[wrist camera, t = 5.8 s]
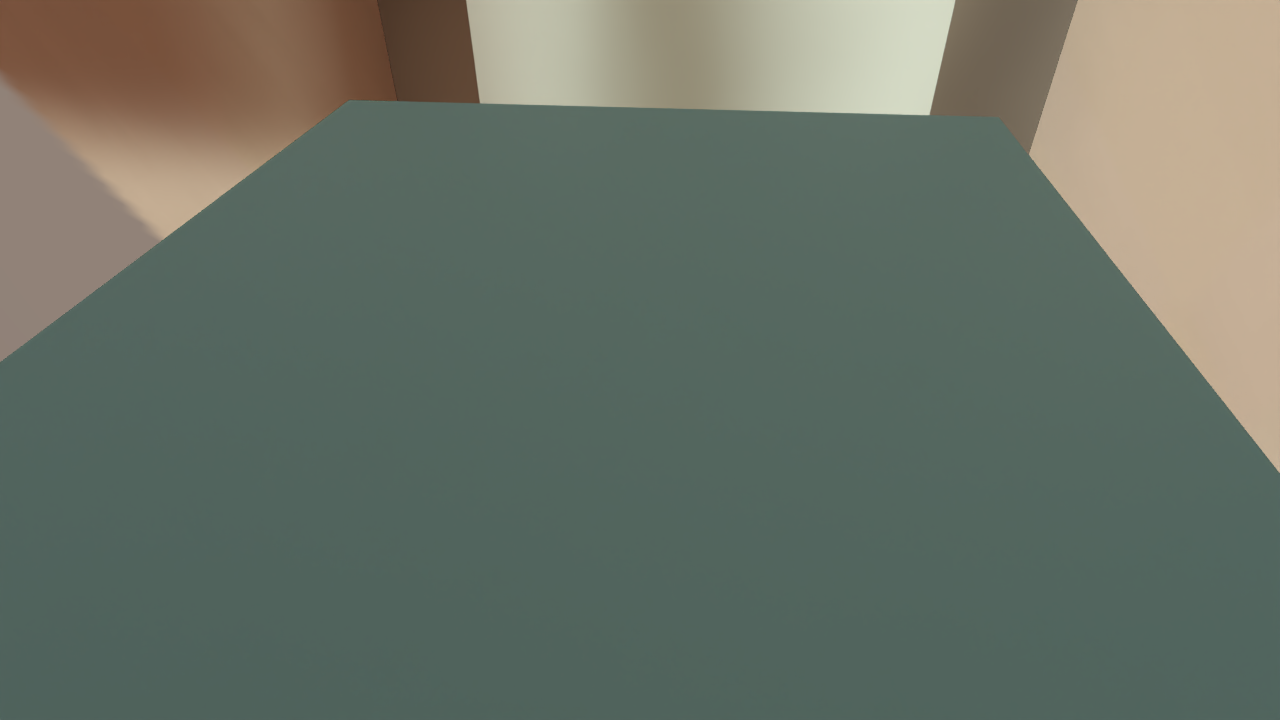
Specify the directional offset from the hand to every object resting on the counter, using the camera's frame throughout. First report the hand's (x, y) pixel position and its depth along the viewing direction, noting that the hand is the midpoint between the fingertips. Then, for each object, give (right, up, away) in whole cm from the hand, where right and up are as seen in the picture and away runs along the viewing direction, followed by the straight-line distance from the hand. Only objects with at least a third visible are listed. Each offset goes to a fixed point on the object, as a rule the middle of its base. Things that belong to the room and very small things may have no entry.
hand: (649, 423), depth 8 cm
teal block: (0, +1, +1) cm, 1 cm away
